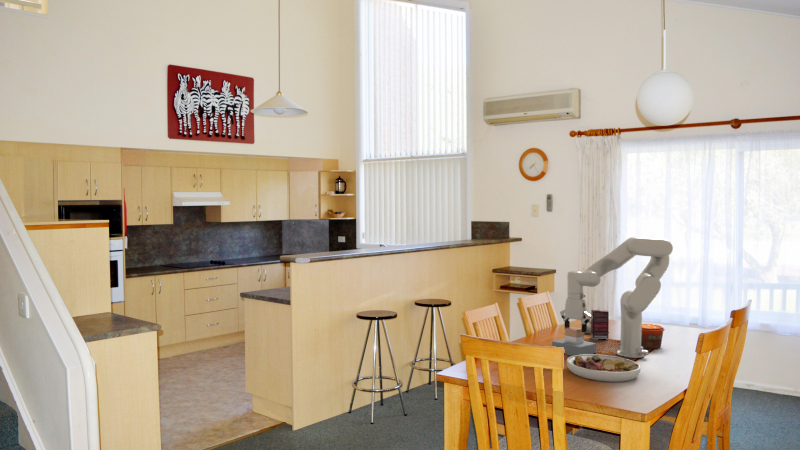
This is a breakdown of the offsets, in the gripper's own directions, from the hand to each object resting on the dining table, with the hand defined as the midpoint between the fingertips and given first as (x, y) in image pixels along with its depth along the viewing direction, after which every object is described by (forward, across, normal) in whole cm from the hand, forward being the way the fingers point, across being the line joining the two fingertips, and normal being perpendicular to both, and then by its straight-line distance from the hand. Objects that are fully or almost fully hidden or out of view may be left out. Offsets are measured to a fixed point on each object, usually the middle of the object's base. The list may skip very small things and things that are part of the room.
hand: (575, 330), depth 288 cm
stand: (+11, +1, +1) cm, 11 cm away
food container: (+12, -14, -43) cm, 47 cm away
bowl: (+12, -29, +24) cm, 39 cm away
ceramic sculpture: (+12, +20, -49) cm, 54 cm away
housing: (+6, 0, 0) cm, 6 cm away
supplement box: (+12, +11, -38) cm, 41 cm away
